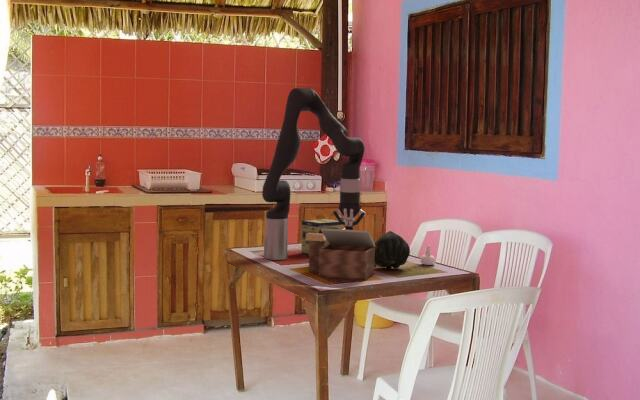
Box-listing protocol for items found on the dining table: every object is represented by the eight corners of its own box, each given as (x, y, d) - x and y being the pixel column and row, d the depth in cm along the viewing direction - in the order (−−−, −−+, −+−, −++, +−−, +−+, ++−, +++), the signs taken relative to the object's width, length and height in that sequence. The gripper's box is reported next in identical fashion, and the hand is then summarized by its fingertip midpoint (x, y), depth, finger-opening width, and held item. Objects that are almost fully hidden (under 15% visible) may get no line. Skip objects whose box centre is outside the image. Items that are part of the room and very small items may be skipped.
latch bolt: (305, 240, 272) (305, 234, 272) (308, 239, 276) (308, 232, 276) (323, 241, 270) (323, 235, 270) (325, 240, 274) (326, 233, 274)
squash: (366, 267, 286) (367, 230, 285) (399, 265, 292) (400, 229, 290) (381, 273, 273) (382, 234, 272) (415, 271, 278) (416, 233, 277)
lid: (320, 230, 263) (321, 228, 263) (329, 244, 276) (329, 242, 276) (368, 232, 258) (368, 230, 258) (375, 247, 270) (375, 245, 271)
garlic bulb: (427, 262, 301) (428, 243, 301) (438, 264, 296) (438, 245, 296) (417, 263, 297) (417, 245, 297) (427, 266, 292) (428, 246, 292)
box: (302, 275, 265) (302, 243, 264) (313, 269, 278) (314, 239, 277) (365, 280, 258) (366, 247, 257) (374, 274, 271) (374, 242, 270)
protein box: (300, 255, 313) (301, 220, 312) (326, 252, 324) (326, 218, 323) (316, 258, 306) (317, 222, 304) (342, 255, 316) (342, 220, 315)
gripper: (330, 190, 263) (329, 236, 265) (365, 192, 260) (364, 238, 262) (335, 188, 270) (334, 233, 273) (369, 190, 267) (368, 235, 269)
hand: (349, 235), depth 267 cm, fingers closed
